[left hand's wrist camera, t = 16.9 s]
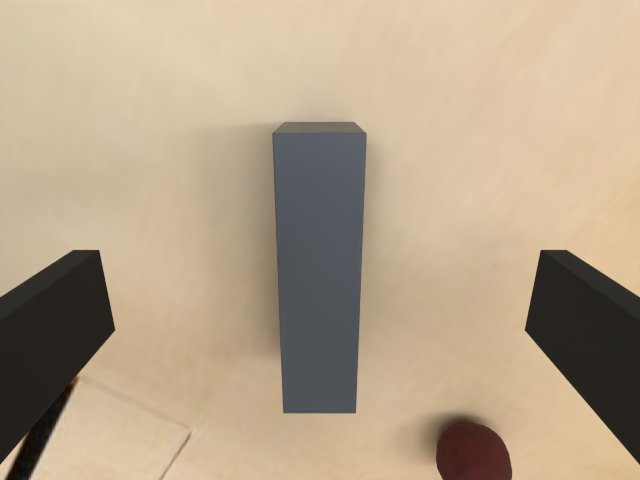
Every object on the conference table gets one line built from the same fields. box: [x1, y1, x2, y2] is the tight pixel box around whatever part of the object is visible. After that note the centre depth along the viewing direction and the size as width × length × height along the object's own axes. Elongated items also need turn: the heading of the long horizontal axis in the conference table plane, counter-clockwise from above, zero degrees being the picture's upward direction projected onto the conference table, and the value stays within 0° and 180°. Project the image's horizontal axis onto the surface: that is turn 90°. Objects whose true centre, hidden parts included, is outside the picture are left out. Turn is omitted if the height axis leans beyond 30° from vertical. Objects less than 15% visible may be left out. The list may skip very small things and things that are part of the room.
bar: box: [273, 122, 366, 413], centre depth 34 cm, size 22×6×9 cm, turn 0°
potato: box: [436, 423, 512, 480], centre depth 42 cm, size 7×8×7 cm
